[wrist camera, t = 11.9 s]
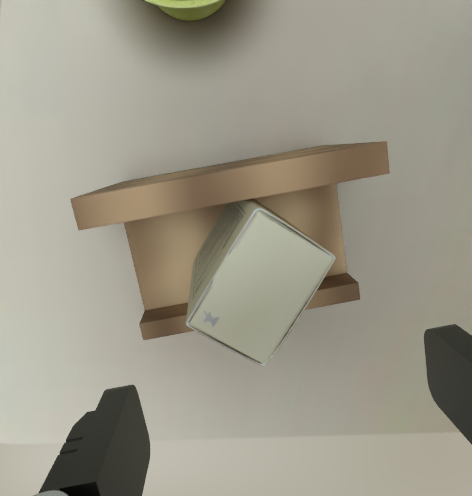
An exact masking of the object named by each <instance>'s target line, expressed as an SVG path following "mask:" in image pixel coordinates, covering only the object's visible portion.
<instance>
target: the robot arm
mask: <svg viewBox="0 0 472 496" xmlns="http://www.w3.org/2000/svg"><path fill="white" fill-rule="evenodd" d="M424 344H425V355H426V366H427V378H428V385H429V389H430V392H431V395H432V397H433V399H434V401H435V402H436V404H437V405H438V407H439V408H440V409H441V410H442V411H443V412H444V413H445V414H446V416H447V417H448V418H449V419H450V420H451V421H452V422H453V424H454V425H455V426H456V427H457V428H458V429H459V430H460V432H461V433H462V434H463V435H464V436H465V437H466V438H467V440H468V441H469V442H470V443H471V444H472V336H471V335H470V334H469V333H467V332H466V331H464V330H463V329H462V328H460V327H459V326H457V325H455V324H453V325H447V326H442V327H437V328H432V329H427V330H426V331H425V333H424ZM149 460H150V441H149V435H148V431H147V427H146V423H145V419H144V415H143V411H142V408H141V404H140V400H139V396H138V392H137V390H136V387H135V386H134V385H128V386H123V387H117V388H112V389H107V390H105V391H104V393H103V395H102V397H101V400H100V402H99V404H98V406H97V408H96V410H95V411H91V412H87V413H86V414H85V415H84V416H83V417H82V418H81V419H80V420H79V421H78V422H77V423H76V424H75V425H74V426H73V427H72V429H71V431H70V433H69V435H68V437H67V439H66V443H64V445H63V447H62V449H61V451H60V455H58V456H57V458H56V460H55V462H54V464H53V466H52V468H51V470H50V472H49V474H48V476H47V478H46V480H45V482H44V484H43V486H42V488H41V489H40V491H39V493H38V494H36V495H34V496H142V493H143V488H144V483H145V478H146V474H147V469H148V464H149Z"/></svg>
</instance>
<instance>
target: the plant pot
mask: <svg viewBox="0 0 472 496" xmlns="http://www.w3.org/2000/svg"><path fill="white" fill-rule="evenodd" d="M144 1H146V2H148V3H150V4H153V5H156V6H158V7H159V8H160V9H161V10H162V11H163V12H165V13H166V14H168V15H170V16H172V17H174V18H177V19H180V20H186V21H194V20H200V19H203V18H205V17H207V16H209V15H211V14H213V13H214V12H216V11H217V10H218V9H219V8H220V7H221V6H222V5H223V4H224V2H225V1H226V0H144Z"/></svg>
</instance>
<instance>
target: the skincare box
mask: <svg viewBox="0 0 472 496" xmlns="http://www.w3.org/2000/svg"><path fill="white" fill-rule="evenodd" d="M335 259H336V257H335V256H334V254H332V253H331V252H330V251H328V250H327V249H325V248H324V247H322V246H321V245H320V244H318V243H317V242H316V241H314V240H313V239H312V238H310V237H309V236H307V235H306V234H305V233H303V232H302V231H300V230H299V229H298V228H296V227H295V226H294V225H292V224H291V223H290V222H288V221H287V220H285V219H284V218H282V217H281V216H279V215H278V214H276V213H275V212H273V211H272V210H270V209H269V208H267V207H265V206H264V205H262V204H261V203H259V202H258V201H256V200H254V199H253V198H252V199H247V200H241V201H236V202H231V203H228V204H227V205H226V207H225V208H224V210H223V212H222V213H221V215H220V217H219V218H218V220H217V221H216V223H215V225H214V227H213V228H212V230H211V232H210V233H209V235H208V237H207V238H206V240H205V242H204V244H203V245H202V247H201V249H200V251H199V253H198V254H197V256H196V258H195V260H194V262H193V270H192V278H191V286H190V293H189V301H188V309H187V316H186V325H187V326H188V327H190V328H192V329H193V330H195V331H197V332H199V333H200V334H202V335H204V336H206V337H208V338H209V339H211V340H213V341H214V342H216V343H218V344H220V345H222V346H224V347H226V348H227V349H229V350H231V351H233V352H235V353H237V354H239V355H240V356H242V357H244V358H246V359H249V360H251V361H253V362H255V363H257V364H259V365H261V366H265V365H267V364H268V362H269V361H270V359H271V358H272V357H273V356H274V354H275V353H276V351H277V350H278V349H279V347H280V346H281V344H282V343H283V342H284V340H285V339H286V337H287V336H288V334H289V333H290V331H291V330H292V328H293V327H294V325H295V324H296V322H297V320H298V319H299V318H300V316H301V314H302V313H303V311H304V310H305V308H306V307H307V305H308V303H309V302H310V300H311V299H312V297H313V295H314V294H315V292H316V291H317V289H318V287H319V286H320V284H321V282H322V281H323V279H324V278H325V276H326V274H327V272H328V271H329V269H330V267H331V266H332V264H333V262H334V261H335Z"/></svg>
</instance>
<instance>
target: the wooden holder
mask: <svg viewBox="0 0 472 496" xmlns="http://www.w3.org/2000/svg"><path fill="white" fill-rule="evenodd" d="M389 173H390V171H389V160H388V150H387V141H386V142H370V143H355V144H340V145H324V146H317V147H312V148H306V149H301V150H295V151H290V152H284V153H279V154H273V155H268V156H262V157H257V158H251V159H246V160H240V161H235V162H229V163H224V164H218V165H213V166H207V167H202V168H196V169H191V170H185V171H180V172H174V173H169V174H163V175H158V176H152V177H147V178H141V179H135V180H130V181H124V182H120V183H117V184H114V185H111V186H108V187H105V188H102V189H99V190H96V191H93V192H90V193H87V194H84V195H81V196H78V197H75V198H72V199H70V200H71V203H72V207H73V211H74V215H75V219H76V222H77V226H78V230H83V229H89V228H94V227H100V226H105V225H111V224H116V223H121V222H124V225H125V229H126V233H127V237H128V241H129V246H130V250H131V254H132V258H133V262H134V267H135V271H136V275H137V279H138V283H139V288H140V292H141V296H142V300H143V304H144V309H145V312H144V314H143V317H142V319H141V321H140V328H141V332H142V337H143V340H147V339H153V338H158V337H163V336H169V335H174V334H179V333H184V332H190V331H195V330H193V329H192V328H190V327H188V326H187V325H186V316H187V309H188V301H189V293H190V286H191V278H192V270H193V262H194V260H195V258H196V256H197V254H198V253H199V251H200V249H201V247H202V245H203V244H204V242H205V240H206V238H207V237H208V235H209V233H210V232H211V230H212V228H213V227H214V225H215V223H216V221H217V220H218V218H219V217H220V215H221V213H222V212H223V210H224V208H225V207H226V205H227V204H228V203H231V202H236V201H241V200H247V199H252V198H253V199H254V200H256V201H258V202H259V203H261V204H262V205H264V206H265V207H267V208H269V209H270V210H272V211H273V212H275V213H276V214H278V215H279V216H281V217H282V218H284V219H285V220H287V221H288V222H290V223H291V224H292V225H294V226H295V227H296V228H298V229H299V230H300V231H302V232H303V233H305V234H306V235H307V236H309V237H310V238H312V239H313V240H314V241H316V242H317V243H318V244H320V245H321V246H322V247H324V248H325V249H327V250H328V251H330V252H331V253H332V254H334V256H335V257H336V259H335V261H334V262H333V264H332V266H331V267H330V269H329V271H328V272H327V274H326V276H325V278H324V279H323V281H322V282H321V284H320V286H319V287H318V289H317V291H316V292H315V294H314V295H313V297H312V299H311V300H310V302H309V303H308V305H307V307H306V308H305V310H306V309H312V308H317V307H322V306H328V305H333V304H338V303H343V302H349V301H354V300H359V299H360V294H359V285H358V282H357V281H356V280H354V279H353V278H352V277H351V276H350V275H349V274H348V273H347V270H346V262H345V254H344V246H343V238H342V230H341V221H340V213H339V205H338V197H337V189H336V183H340V182H345V181H351V180H356V179H361V178H367V177H372V176H378V175H383V174H389Z"/></svg>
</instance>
